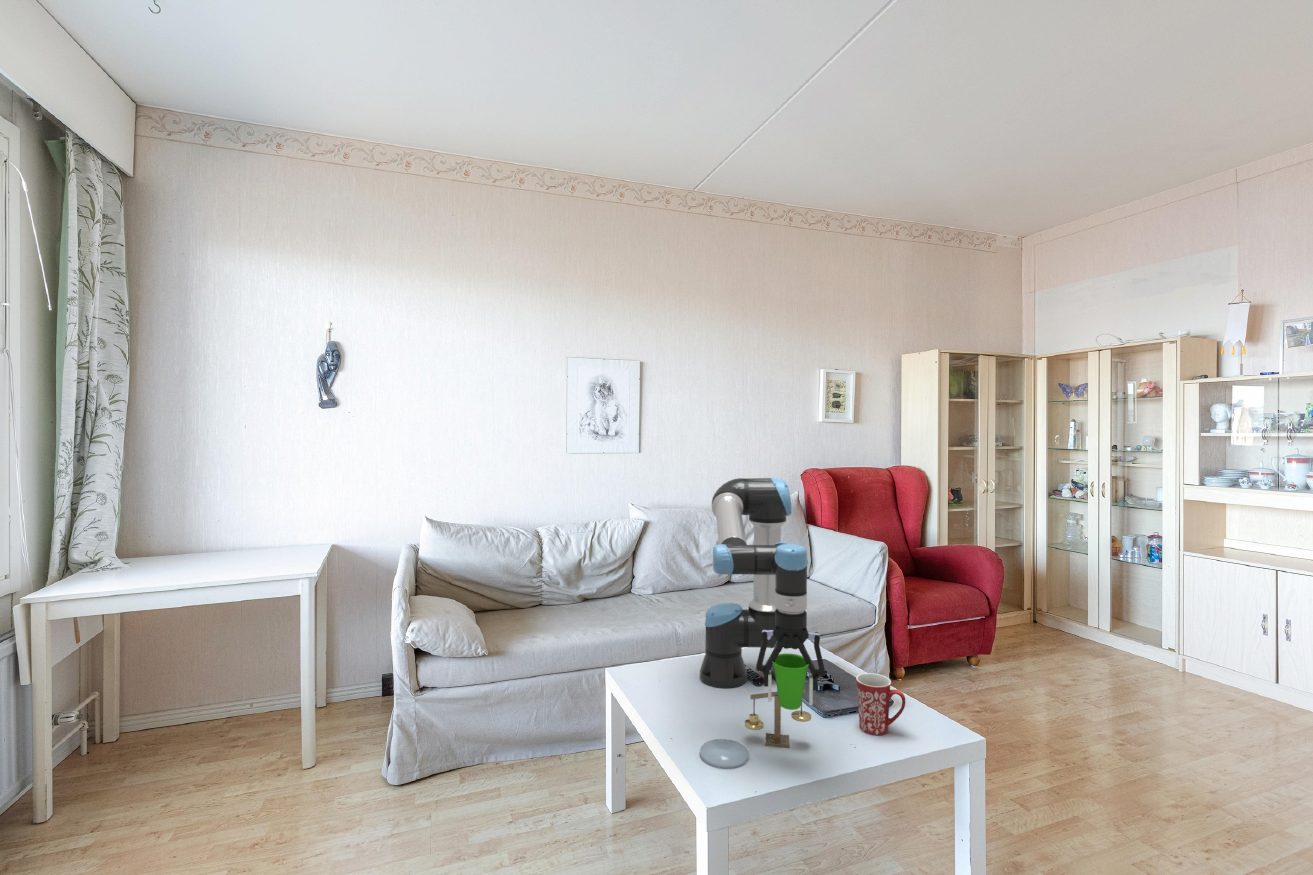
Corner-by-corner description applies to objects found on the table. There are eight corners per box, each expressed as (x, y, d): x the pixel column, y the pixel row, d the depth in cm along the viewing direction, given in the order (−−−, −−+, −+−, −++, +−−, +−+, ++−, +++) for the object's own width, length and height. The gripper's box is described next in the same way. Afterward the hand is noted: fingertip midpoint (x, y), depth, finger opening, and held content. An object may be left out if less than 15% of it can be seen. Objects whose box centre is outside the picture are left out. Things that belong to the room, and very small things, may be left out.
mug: (851, 730, 167) (851, 681, 166) (861, 717, 174) (861, 669, 174) (900, 744, 160) (901, 692, 159) (908, 730, 167) (909, 680, 167)
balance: (743, 743, 160) (743, 688, 160) (744, 733, 165) (744, 680, 165) (811, 749, 157) (812, 693, 157) (810, 739, 162) (810, 685, 162)
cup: (810, 715, 146) (810, 669, 146) (770, 711, 148) (771, 666, 148) (808, 698, 155) (808, 654, 155) (771, 694, 157) (771, 652, 156)
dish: (702, 740, 162) (702, 736, 162) (749, 745, 159) (749, 741, 159) (697, 765, 150) (697, 761, 150) (747, 771, 148) (747, 766, 148)
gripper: (744, 611, 149) (744, 703, 150) (839, 617, 145) (837, 712, 146) (746, 602, 156) (745, 690, 157) (835, 607, 152) (835, 697, 153)
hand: (790, 700), depth 152 cm, fingers closed on cup, 9 cm apart
